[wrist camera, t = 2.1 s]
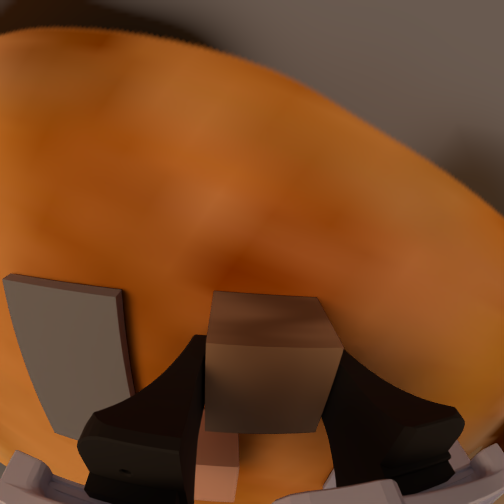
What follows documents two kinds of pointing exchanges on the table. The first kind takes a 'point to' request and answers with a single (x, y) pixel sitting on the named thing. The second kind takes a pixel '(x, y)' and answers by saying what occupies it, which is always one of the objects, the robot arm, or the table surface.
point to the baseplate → (71, 347)
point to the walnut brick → (268, 363)
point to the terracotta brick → (216, 465)
